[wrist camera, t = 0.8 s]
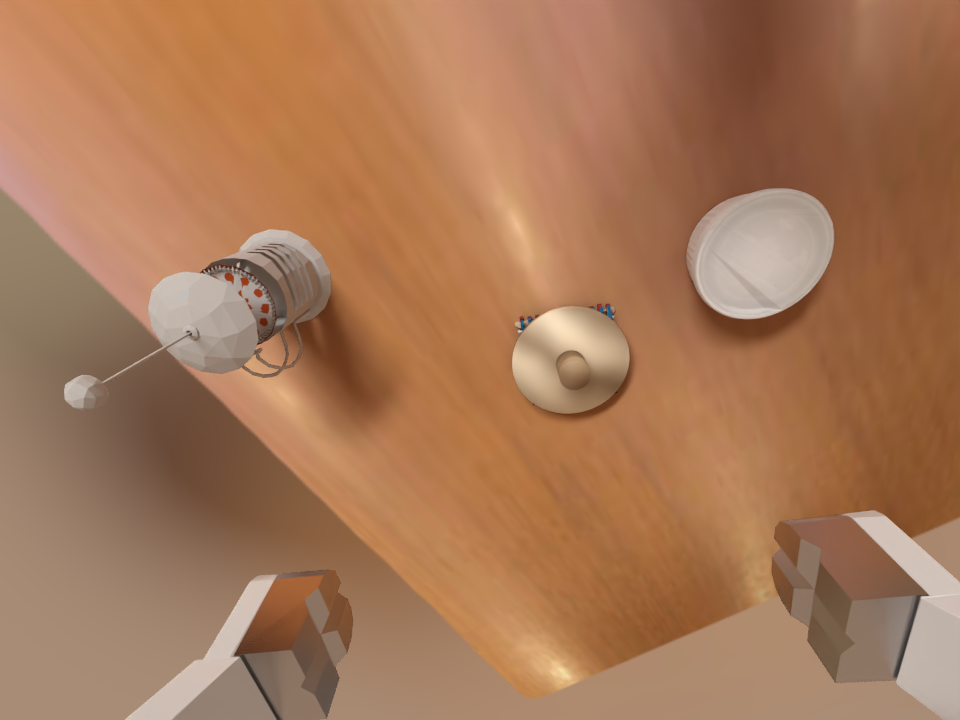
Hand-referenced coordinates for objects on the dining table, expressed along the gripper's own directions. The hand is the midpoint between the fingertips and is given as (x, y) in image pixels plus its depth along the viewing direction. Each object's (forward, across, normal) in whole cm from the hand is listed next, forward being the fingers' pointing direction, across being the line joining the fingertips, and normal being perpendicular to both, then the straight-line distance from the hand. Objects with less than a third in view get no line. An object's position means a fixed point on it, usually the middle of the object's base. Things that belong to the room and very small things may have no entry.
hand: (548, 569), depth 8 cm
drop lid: (+37, -5, +13) cm, 40 cm away
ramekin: (+38, -22, +4) cm, 44 cm away
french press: (+39, +23, 0) cm, 45 cm away
